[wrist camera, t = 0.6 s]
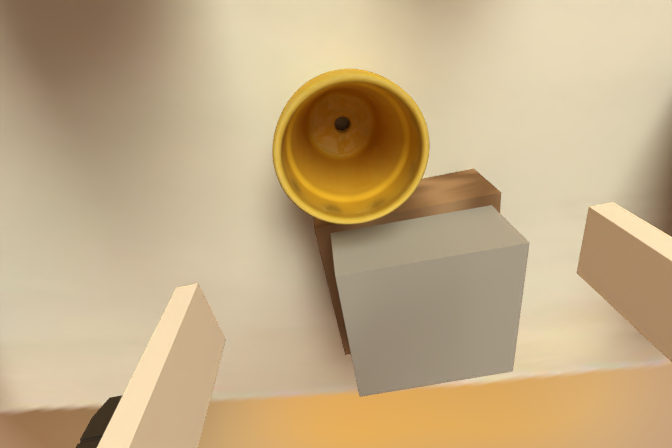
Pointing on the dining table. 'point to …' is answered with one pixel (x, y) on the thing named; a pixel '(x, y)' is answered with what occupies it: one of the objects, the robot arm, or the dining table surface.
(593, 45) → the dining table surface
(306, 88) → the plant pot
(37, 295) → the dining table surface
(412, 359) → the grey top block
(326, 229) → the walnut base block
